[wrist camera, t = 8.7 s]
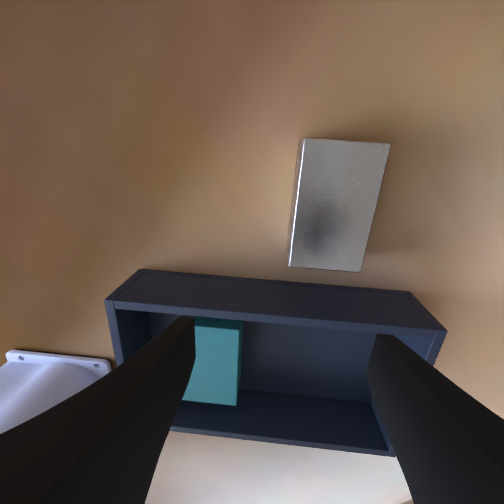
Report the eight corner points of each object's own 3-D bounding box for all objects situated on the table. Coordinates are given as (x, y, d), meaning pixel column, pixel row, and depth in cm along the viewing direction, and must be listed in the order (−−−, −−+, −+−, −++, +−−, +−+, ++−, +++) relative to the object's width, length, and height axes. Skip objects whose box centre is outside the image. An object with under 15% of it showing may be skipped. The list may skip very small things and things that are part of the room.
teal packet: (192, 370, 22) (181, 400, 19) (189, 300, 19) (175, 324, 17) (240, 375, 22) (236, 406, 19) (244, 305, 19) (239, 330, 16)
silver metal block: (286, 250, 18) (288, 267, 15) (298, 140, 15) (304, 137, 12) (347, 254, 17) (360, 273, 15) (371, 144, 15) (391, 142, 12)
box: (152, 379, 23) (127, 426, 19) (138, 268, 19) (103, 299, 15) (373, 402, 22) (395, 457, 18) (409, 291, 18) (448, 330, 14)
